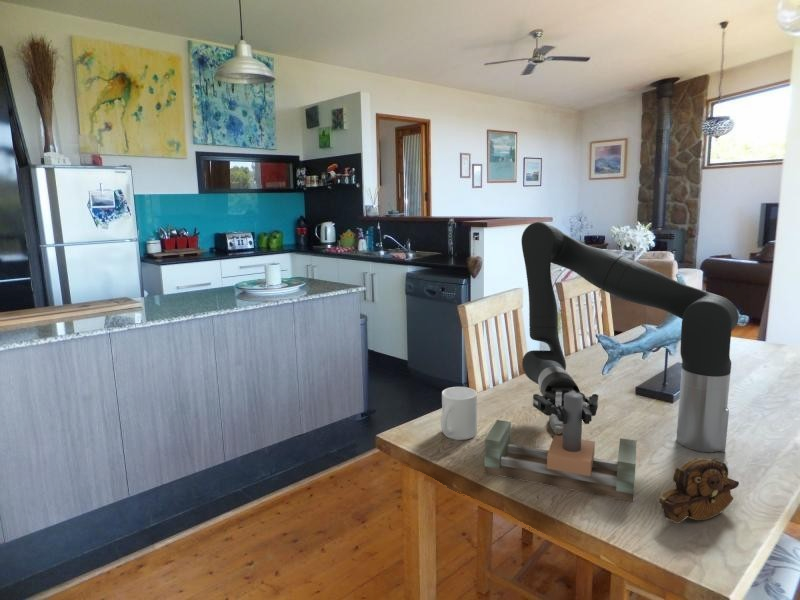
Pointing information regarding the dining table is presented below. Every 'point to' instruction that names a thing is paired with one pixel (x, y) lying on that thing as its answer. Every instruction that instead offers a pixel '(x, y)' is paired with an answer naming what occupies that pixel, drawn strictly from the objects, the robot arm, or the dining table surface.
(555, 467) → the carriage
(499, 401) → the dining table surface
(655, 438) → the dining table surface
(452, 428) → the mug
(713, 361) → the robot arm
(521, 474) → the rail bed
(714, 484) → the wooden carving
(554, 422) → the decorative stone
